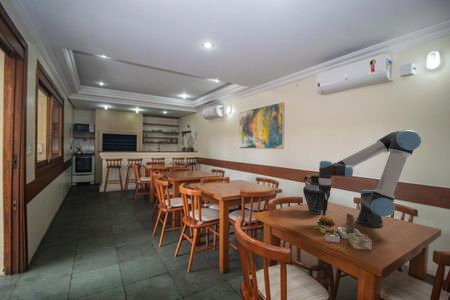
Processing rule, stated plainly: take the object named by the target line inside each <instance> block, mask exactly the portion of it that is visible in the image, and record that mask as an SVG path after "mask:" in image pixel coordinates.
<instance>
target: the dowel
mask: <svg viewBox="0 0 450 300" xmlns="http://www.w3.org/2000/svg"><path fill="white" fill-rule="evenodd" d="M345 222H346V223H345V228H346V234H349V233H354V229H355V214H354V213H350V212H349V213H346V219H345Z"/></svg>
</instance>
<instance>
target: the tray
mask: <svg viewBox="0 0 450 300" xmlns="http://www.w3.org/2000/svg"><path fill="white" fill-rule="evenodd" d="M337 232H338V234H339V236H340V238H341V239H344V240H345V239H347V240H349V234H346V227H339V226H338V227H337ZM354 234H362V233H361V232H360V231H359V230H358V229H357V228H354Z"/></svg>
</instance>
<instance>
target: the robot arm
mask: <svg viewBox="0 0 450 300" xmlns="http://www.w3.org/2000/svg"><path fill="white" fill-rule="evenodd" d="M421 144H422V138H421V136H420V135H419V133H418V132H416V131H414V130H410V129H409V130H407V129H404V130H398V131H393V132H390V133H388V134H386V135H384V136H383V137H381V138H379V139H378V140H376V142H375V143H373V144H371V145H369V146H366V147H365V148H363V149H361V150H359V151H357V152H355V153H353V154H351V155H349V156H347V157H345V158H343V159H341V160H339V161H337V162H332V160H331V161H330V160H321V161H319V166H318V167H319V168H318V174H319V179H318V180H319V188H318V189H319V190H321V191H322V192H321V193H320V194H321V214H320V218H321V217H323V216H325V217H327V211H328V206H329V205H328V204H329V203H328V202H329V199H330V197H328V194H327V191H330V192H331V191H332V177H344V178H350V177H352V176H353V173H354V167H356V166H358V165H359V164H362V163H364V162H366V161H368V160H370V159H372V158H374V157H376V156H378V155H380V154H382V153H388V152H389V155H388V158H387V160H386V163H385V166H384V168H383V171H382V174H381V177H380V178H379V182H378V184H377V187H376V188H375V189H372V190H371V189H361V191H360V202H359V203H360V205H359V207H360V209H359V211H358V212H359V213H358V215H357V216H356V222H357V223H358V224H360V225H362V226H366V227H370V228H382V227H383V226H384V222H383V219H382V217H389V216H391V215H392V214H393V213H394V212H395V210H396V206H395V203H394V201H395V199H396V196H395V195H394V193H395V190H396V188H397V185H398V182H399V180H400V177H401V174H402V172H403V169H404V167H405V164H406V162H407V159H408V158H409V157H410V156H412V155H413V152H414V150H416V149H418V148H419V146H420V145H421ZM328 198H329V199H328Z"/></svg>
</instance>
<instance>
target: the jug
mask: <svg viewBox="0 0 450 300" xmlns="http://www.w3.org/2000/svg"><path fill="white" fill-rule="evenodd" d="M308 179H310V180H311V182H310V183H309V181H308ZM318 179H319V173H311V174H310V175H308V174H307V175H305V176H304V178H303V180H304V185H305V186H304V187H303V189H302V192H303V196H304V199H305V201H306V205H307V207H308V208H307V210H308V212H309V213H311V214H314V215H321V194H320V193H321V192H322V191H321V190H319V189H318V188H319V180H318ZM327 194H328V197H329V198H328V200H329V199H330V196H331V191H327Z"/></svg>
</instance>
